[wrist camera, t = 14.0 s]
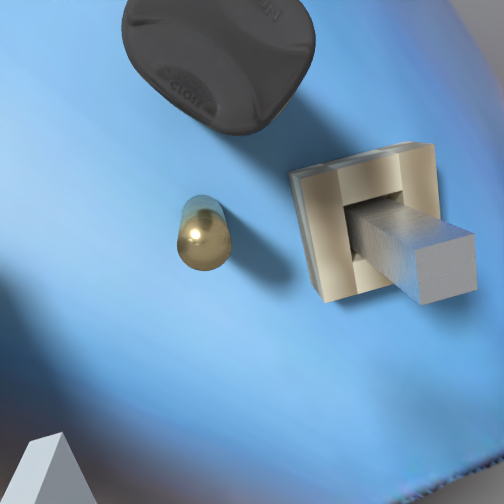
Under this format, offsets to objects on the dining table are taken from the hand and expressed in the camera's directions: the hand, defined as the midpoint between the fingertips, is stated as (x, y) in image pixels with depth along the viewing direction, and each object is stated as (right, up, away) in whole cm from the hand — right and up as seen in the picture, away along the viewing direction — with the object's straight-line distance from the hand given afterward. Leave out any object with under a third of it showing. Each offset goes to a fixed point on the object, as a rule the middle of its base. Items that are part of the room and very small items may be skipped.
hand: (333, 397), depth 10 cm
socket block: (+9, +8, +31) cm, 33 cm away
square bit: (+9, +7, +29) cm, 31 cm away
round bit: (-7, +7, +29) cm, 31 cm away
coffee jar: (-6, +19, +25) cm, 33 cm away
